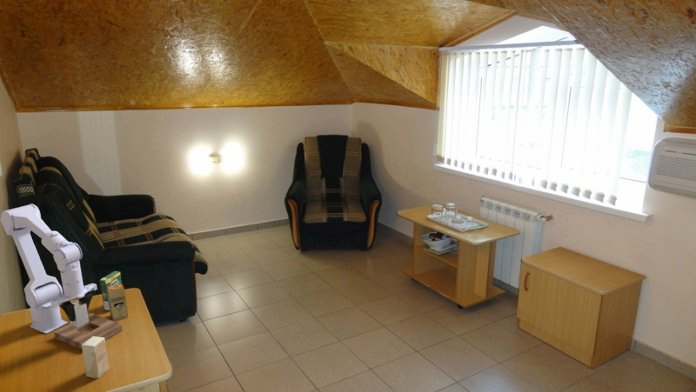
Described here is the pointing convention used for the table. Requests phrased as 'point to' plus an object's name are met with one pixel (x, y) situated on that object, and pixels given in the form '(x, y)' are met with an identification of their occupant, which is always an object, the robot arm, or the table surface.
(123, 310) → the shoe polish box
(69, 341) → the socket block
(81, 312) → the peg
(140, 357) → the table surface
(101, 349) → the box
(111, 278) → the coffee box
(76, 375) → the table surface
